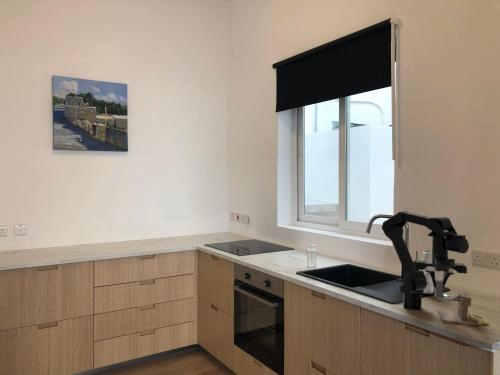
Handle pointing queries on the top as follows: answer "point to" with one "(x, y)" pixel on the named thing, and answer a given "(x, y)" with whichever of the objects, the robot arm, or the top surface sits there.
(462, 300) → the bearing stand
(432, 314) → the top surface
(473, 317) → the bar
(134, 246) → the top surface
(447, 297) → the shaft
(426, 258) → the plastic bottle
